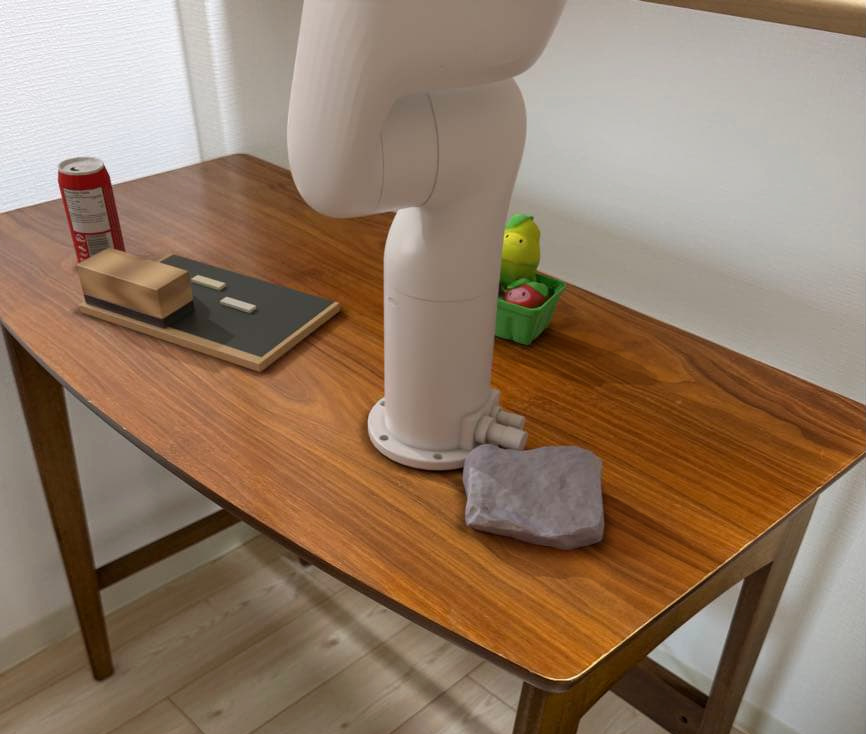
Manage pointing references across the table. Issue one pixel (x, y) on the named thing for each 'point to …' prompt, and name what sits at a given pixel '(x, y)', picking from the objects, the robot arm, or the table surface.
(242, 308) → the white chalk stick
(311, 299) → the chalkboard
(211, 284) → the chalk mark
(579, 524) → the stone block
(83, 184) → the soda can
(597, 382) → the table surface
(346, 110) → the robot arm
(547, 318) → the fruit basket
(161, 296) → the eraser
